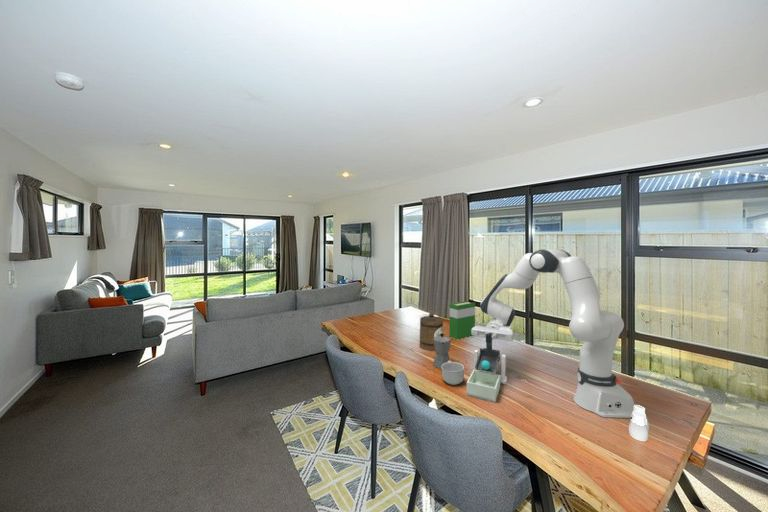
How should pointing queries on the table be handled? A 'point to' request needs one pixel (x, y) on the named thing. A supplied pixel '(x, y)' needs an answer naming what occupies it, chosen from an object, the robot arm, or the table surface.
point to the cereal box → (462, 319)
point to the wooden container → (430, 331)
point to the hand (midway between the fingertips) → (489, 337)
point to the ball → (485, 365)
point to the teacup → (452, 372)
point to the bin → (483, 385)
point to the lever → (488, 356)
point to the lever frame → (503, 363)
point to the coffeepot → (441, 350)
